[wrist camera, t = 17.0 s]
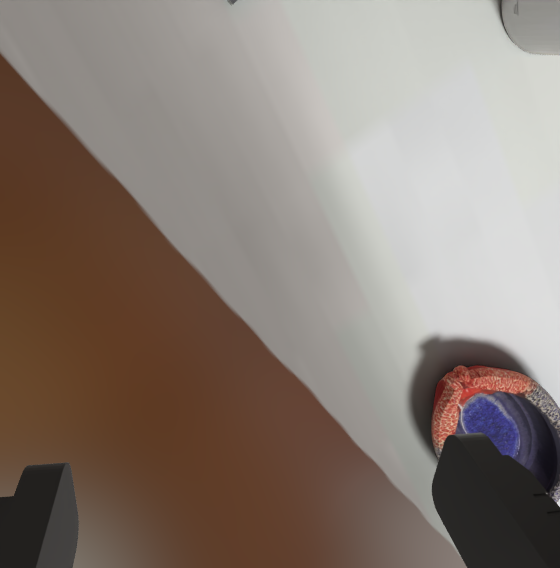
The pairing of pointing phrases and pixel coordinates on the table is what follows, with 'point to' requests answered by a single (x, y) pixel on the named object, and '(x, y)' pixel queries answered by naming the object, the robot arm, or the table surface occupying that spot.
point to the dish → (502, 418)
